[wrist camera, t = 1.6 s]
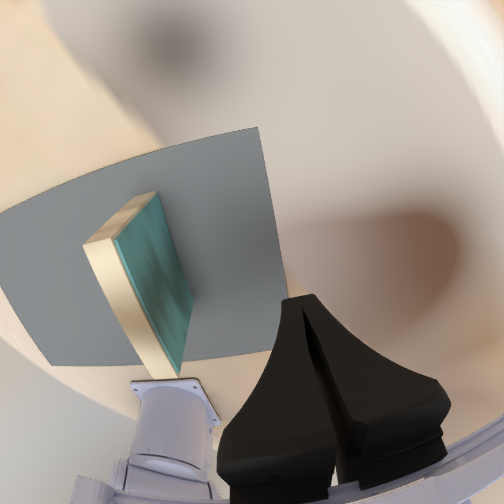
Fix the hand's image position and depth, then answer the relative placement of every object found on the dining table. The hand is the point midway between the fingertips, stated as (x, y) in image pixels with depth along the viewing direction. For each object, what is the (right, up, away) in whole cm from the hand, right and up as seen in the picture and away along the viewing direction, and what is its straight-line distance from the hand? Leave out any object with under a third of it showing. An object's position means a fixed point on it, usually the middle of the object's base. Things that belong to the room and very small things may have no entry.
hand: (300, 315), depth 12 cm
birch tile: (-8, +2, +8) cm, 12 cm away
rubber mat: (-14, 0, +10) cm, 17 cm away
